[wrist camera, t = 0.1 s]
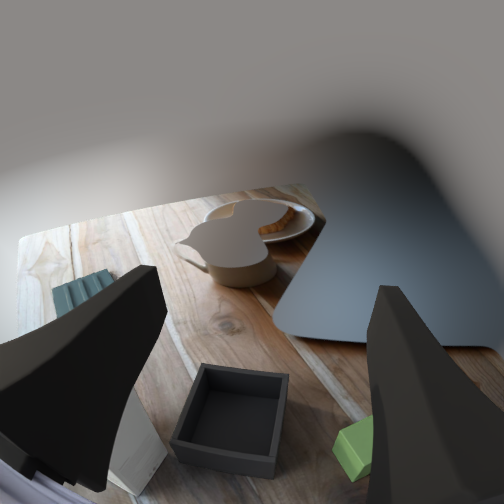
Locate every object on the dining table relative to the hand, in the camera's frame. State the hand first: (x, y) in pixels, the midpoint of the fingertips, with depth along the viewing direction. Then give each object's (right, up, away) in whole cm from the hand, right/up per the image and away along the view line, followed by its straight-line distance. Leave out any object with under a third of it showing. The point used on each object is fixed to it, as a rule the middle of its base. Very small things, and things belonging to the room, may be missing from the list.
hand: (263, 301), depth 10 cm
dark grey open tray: (-2, -17, +19) cm, 25 cm away
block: (+10, -18, +15) cm, 26 cm away
